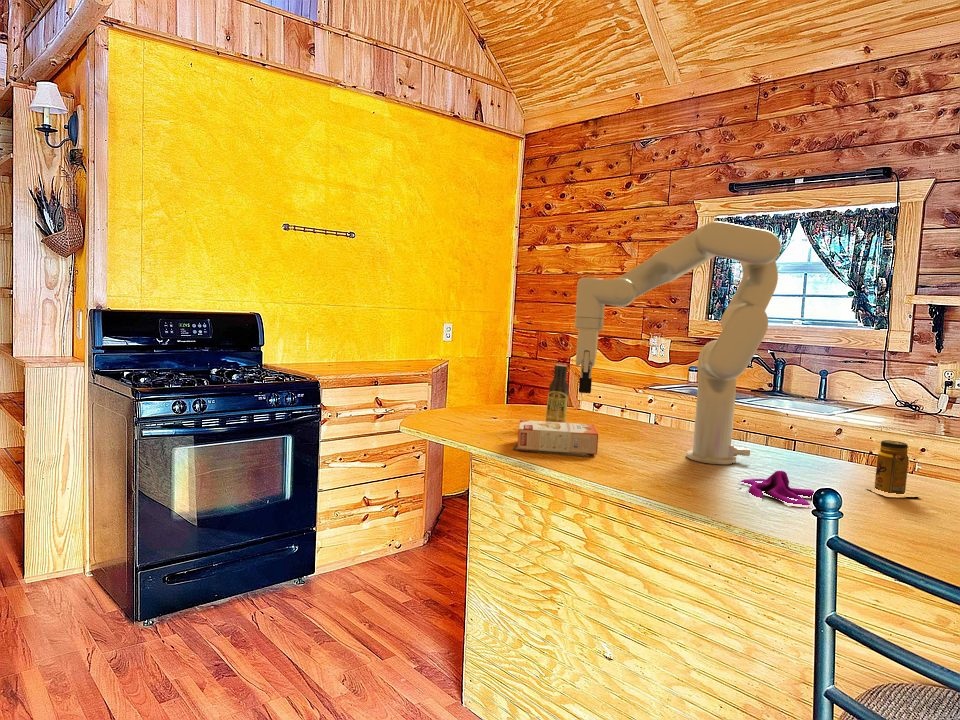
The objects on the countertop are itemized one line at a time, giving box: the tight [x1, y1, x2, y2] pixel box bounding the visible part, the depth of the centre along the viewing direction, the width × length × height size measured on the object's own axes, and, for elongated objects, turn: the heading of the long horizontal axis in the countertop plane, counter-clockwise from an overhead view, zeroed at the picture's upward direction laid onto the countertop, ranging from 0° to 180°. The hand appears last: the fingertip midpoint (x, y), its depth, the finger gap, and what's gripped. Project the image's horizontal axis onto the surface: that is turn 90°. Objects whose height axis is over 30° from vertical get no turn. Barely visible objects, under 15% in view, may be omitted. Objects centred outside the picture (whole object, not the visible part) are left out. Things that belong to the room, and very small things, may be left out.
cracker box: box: [517, 419, 599, 455], centre depth 187 cm, size 14×6×21 cm
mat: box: [512, 441, 591, 458], centre depth 189 cm, size 20×16×1 cm
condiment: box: [874, 439, 910, 494], centre depth 156 cm, size 7×8×12 cm
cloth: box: [740, 470, 815, 509], centre depth 151 cm, size 22×19×6 cm
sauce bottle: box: [545, 364, 570, 423], centre depth 215 cm, size 7×6×20 cm
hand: (584, 392), depth 186 cm, fingers closed
